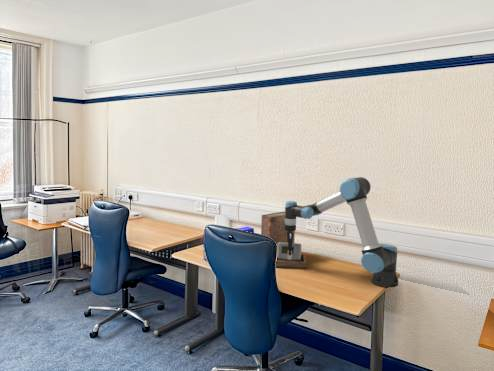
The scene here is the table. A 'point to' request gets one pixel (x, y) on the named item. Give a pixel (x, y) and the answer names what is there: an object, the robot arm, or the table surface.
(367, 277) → the table surface
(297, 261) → the brown rectangular tray
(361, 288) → the table surface
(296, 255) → the digital clock
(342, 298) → the table surface
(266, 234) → the book
